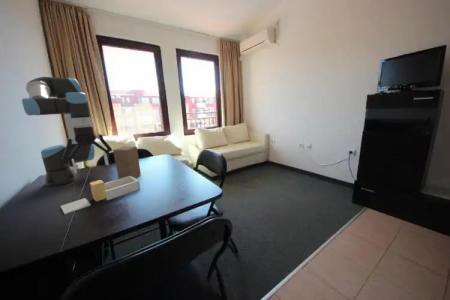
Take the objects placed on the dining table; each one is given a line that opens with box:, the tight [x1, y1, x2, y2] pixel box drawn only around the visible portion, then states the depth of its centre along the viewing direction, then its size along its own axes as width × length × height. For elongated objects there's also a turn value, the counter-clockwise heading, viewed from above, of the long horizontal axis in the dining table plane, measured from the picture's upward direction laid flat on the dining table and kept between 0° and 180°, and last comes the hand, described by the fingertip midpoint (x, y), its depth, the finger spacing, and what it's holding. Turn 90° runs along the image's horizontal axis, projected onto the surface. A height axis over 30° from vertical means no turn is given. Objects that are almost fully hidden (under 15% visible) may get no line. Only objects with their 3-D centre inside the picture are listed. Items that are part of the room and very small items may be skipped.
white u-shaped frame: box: [104, 176, 141, 201], centre depth 106 cm, size 12×17×5 cm
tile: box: [60, 197, 92, 215], centre depth 91 cm, size 10×10×1 cm
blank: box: [89, 179, 107, 202], centre depth 98 cm, size 5×5×9 cm
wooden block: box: [112, 145, 142, 180], centre depth 124 cm, size 10×10×20 cm
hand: (92, 168), depth 94 cm, fingers open, 13 cm apart
